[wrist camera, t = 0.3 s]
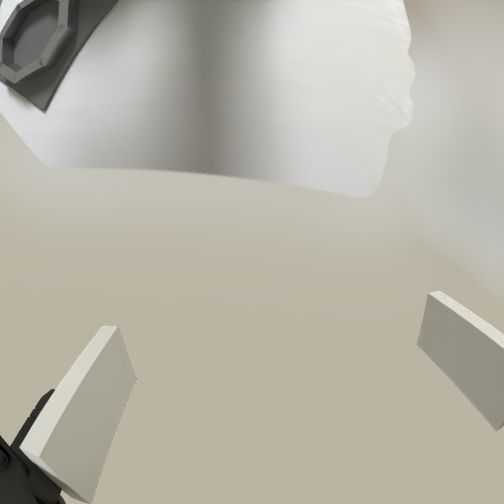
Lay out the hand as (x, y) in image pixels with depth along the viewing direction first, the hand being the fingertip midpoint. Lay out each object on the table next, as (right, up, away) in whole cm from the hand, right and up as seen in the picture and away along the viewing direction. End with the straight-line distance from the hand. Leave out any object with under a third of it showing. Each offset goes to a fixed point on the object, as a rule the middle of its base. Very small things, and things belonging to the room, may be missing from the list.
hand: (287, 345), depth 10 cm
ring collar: (-31, +34, +7) cm, 46 cm away
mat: (-31, +34, +8) cm, 46 cm away
